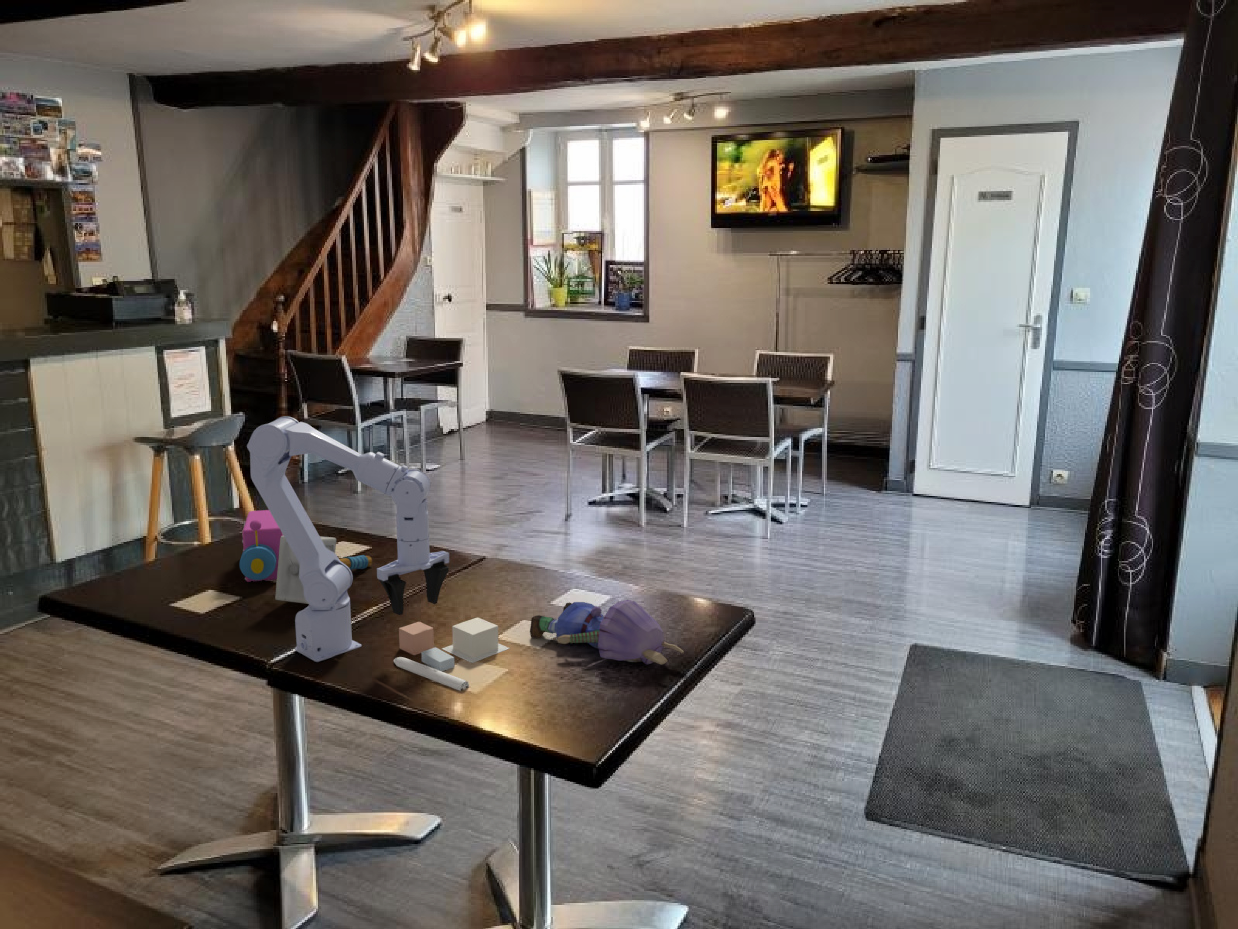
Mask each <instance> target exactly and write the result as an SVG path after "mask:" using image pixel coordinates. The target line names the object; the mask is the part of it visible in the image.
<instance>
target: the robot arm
mask: <svg viewBox="0 0 1238 929" xmlns="http://www.w3.org/2000/svg"><path fill="white" fill-rule="evenodd" d="M246 447H247V450H248V451H249V458H250V459H249V461H250V463H249V464H250V479H251V480H252V483H253V485H254V486H255V488H256V490H257V491H258V493H259V495H260V497H261V498H262V500H263V502H264V504H265V506H266V507H267V510H269V511H270V513H271V514H272V516H273V518H274V520H275V521H276V523H277V525H278V527H279V528H280V530H281V532H282V534H283V535H284V537H285V539H286V541H287V542H288V544H289V546H290V548H291V549H292V551H293V553H294V555H295V556H296V558H297V560H298V562H299V564H300V567H299V579H300V580H301V582H302V584H303V588H304V597H305V599H306V601H307V602H308V604H307V605H308V606H307V607H305V608H304V609H302V610H299V611H298V612H297V613H296V614H295V618H294V622H295V623H294V625H295V626H294V627H295V638H296V639H295V641H296V646H295V648H294V651H296V652H298V653H299V654H302V655H303V656H305V657H306V658H308V659H309V660H312V661H313V662H315V663H319V662H321V661H325V660H328V659H330V658H333V657H336V656H338V655H342V654H343V653H344V654H345V653H346V652H350V651H352V650H356V649H359V648H362V646H363V645H362V644H361V643H359V642H358V641H355V640H353V637H352V632H353V631H352V620H351V619H352V618H351V616H352V614H351V598H350V596H349V594H348V590H349V589H350V588H351V586H352V583H353V581H354V580H353V579H354V575H353V572H352V570H350V569H349V567H348V566H347V565H345V564H344V563H342V562H341V561H340V560H339V559H340V558H339V557H338V556H337V554H336V552H335V553H334V552H332V551H330V550H328V549H327V548H326V547H325V545H324V543H323V542H322V540H321V538H320V535H319V533H318V531H317V529H316V527H315V526H314V524H313V522H312V520H311V519H310V517H309V515H308V513H307V511H306V510H305V507H304V506H303V505H302V503H301V501H300V499H299V497H298V496H297V494H296V492H295V490H294V488H293V487H292V485H291V483H290V481H289V479H288V478H287V476H286V471H287V468H288V467H289V466H288V465H289V464H290V460H291V458H292V457H293V456H299V455H308V454H311V455H314V456H317V457H319V458H321V459H323V460H326V461H328V462H331V463H334V464H335V465H338V466H340V467H341V468H345V469H347V470H350V471H352V473H353V475H354V478H355V479H356V481H357V482H359V483H361V484H364V485H366V486H368V487H370V488H372V489H374V490H376V491H378V492H380V493H383V494H385V495H386V496H389V497H390V496H391V500H392V501H393V503H394V504H395V505H396V506H395V507H396V509H395V510H396V514H395V515H396V521H395V522H396V544H397V545H396V546H397V547H396V549H397V559H396V560H394V561H392V562H389V563H387V564H385V565H383V566H381V567H377V568H376V577H377V578H376V579H378V580H379V583H380V584H381V585H382V586H383V588H384V590H385V592H386V594H387V597H388V599H389V602H390V604H391V608H392V612H393V613H394V614H396V615H398V616H402V615H404V594H405V588H406V584H407V581H406V580H403V579H401V578H402V577H401V575H405V574H408V573H412V572H416V571H419V570H422V571H423V573H424V579H425V585H426V586H425V588H426V598H427V599H426V600H427V602H428V603H431V604H432V605H436V604H438V600H439V595H440V592H441V588H442V585H443V583H444V582H445V581H444V580H445V579H446V577H447V575H448V573H450V572H449V569H450V568H449V566H448V565H447V564H449V563H450V553H449V552H448V551H444V550H441V551H436V552H430V527H429V526H430V525H429V524H430V522H429V519H430V518H429V517H430V516H429V511H428V510H429V509H428V508H429V506H428V498H426V497H427V496H428V495H429V492H430V491H431V481H430V479H429V477H428V475H426V473H424V471H423V472H422V470H420V469H419V468H410V469H409V466H407V465H405V464H403V465H399V464H397V463H396V462H393V461H391V460H388V459H387V458H385V454H384V453H382V452H380V451H377V452H376V453H374V452H373V451H370V452H366V453H359V452H357V451H356V450H354V449H353V448H350V447H349V446H347V445H345V444H343V443H341V442H339V441H337V440H336V439H334V438H332V437H330V436H329V435H327V434H324V433H323V432H321V431H320V430H317V429H316V428H314V427H312V426H311V425H310V424H309V423H306V422H303V421H300V422H299V421H298V420H297V419H296V418H294V417H291V416H280V417H278V418H276V419H275V420H273V421H271V422H269V423H265V424H261V425H260V426H258V427H256V429H254V430H253V432H252V433H251V435H250V438H249V441H248V443H247V444H246Z"/></svg>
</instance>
